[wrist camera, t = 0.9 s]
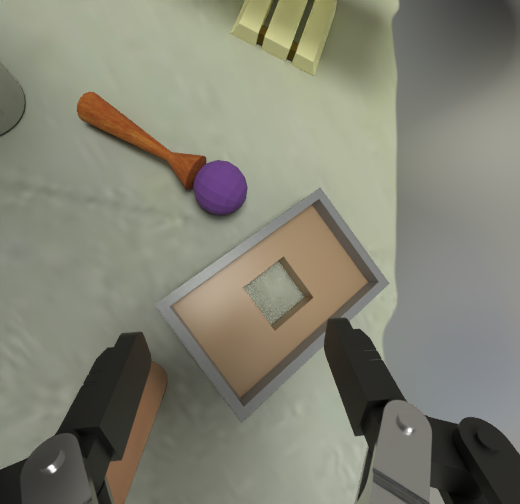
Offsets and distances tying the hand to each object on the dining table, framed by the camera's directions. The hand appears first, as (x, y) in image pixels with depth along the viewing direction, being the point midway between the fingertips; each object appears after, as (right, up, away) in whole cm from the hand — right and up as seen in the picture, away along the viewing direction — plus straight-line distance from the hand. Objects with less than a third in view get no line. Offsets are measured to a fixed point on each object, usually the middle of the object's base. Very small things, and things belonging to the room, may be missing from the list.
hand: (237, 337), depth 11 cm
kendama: (-10, +14, +20) cm, 27 cm away
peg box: (+3, -1, +20) cm, 20 cm away
